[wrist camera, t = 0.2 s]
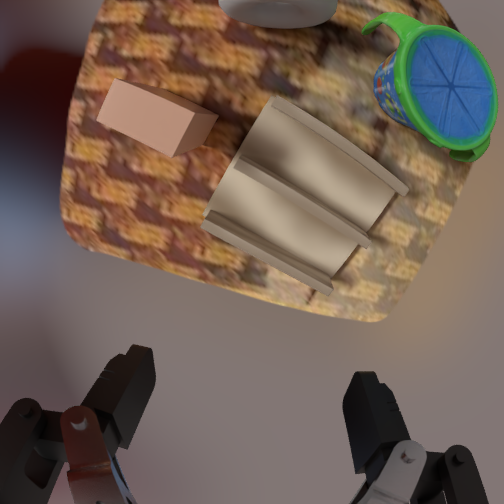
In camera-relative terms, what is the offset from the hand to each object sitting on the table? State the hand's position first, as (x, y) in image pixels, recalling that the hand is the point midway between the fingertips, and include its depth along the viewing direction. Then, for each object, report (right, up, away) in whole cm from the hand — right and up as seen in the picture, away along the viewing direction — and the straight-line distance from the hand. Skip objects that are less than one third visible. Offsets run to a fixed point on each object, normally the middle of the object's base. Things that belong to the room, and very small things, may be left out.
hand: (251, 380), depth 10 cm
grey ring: (+2, +28, +11) cm, 30 cm away
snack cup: (+16, +22, +13) cm, 30 cm away
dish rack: (+5, +11, +19) cm, 23 cm away
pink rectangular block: (-7, +19, +16) cm, 26 cm away
